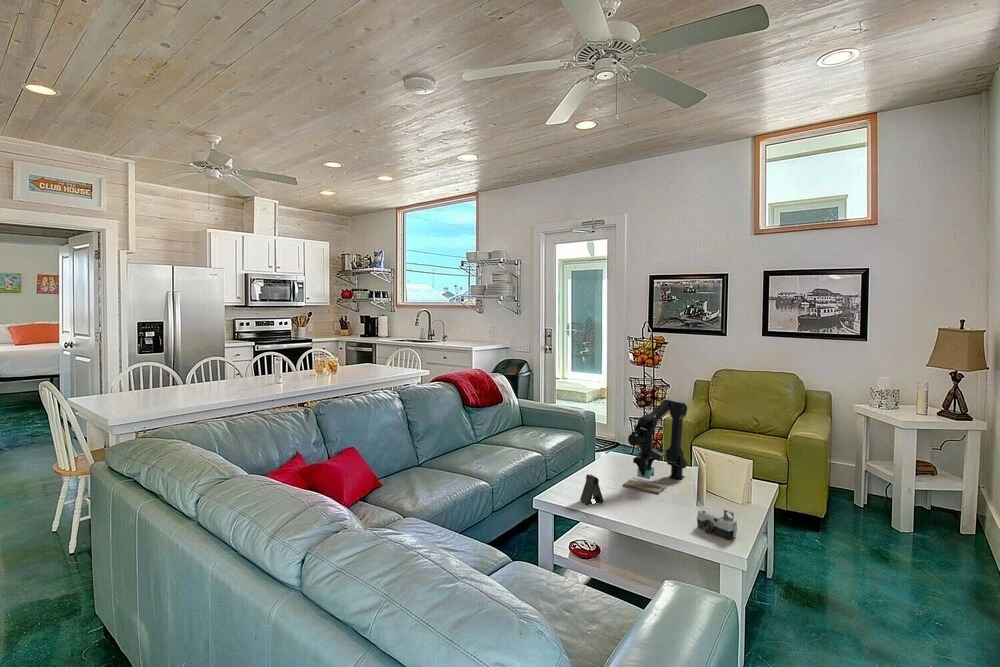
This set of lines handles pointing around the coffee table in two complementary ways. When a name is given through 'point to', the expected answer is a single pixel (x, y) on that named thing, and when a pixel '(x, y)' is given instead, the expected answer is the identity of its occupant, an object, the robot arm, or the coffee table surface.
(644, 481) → the rail plate
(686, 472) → the coffee table surface
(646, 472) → the block
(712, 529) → the camera
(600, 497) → the phone stand
